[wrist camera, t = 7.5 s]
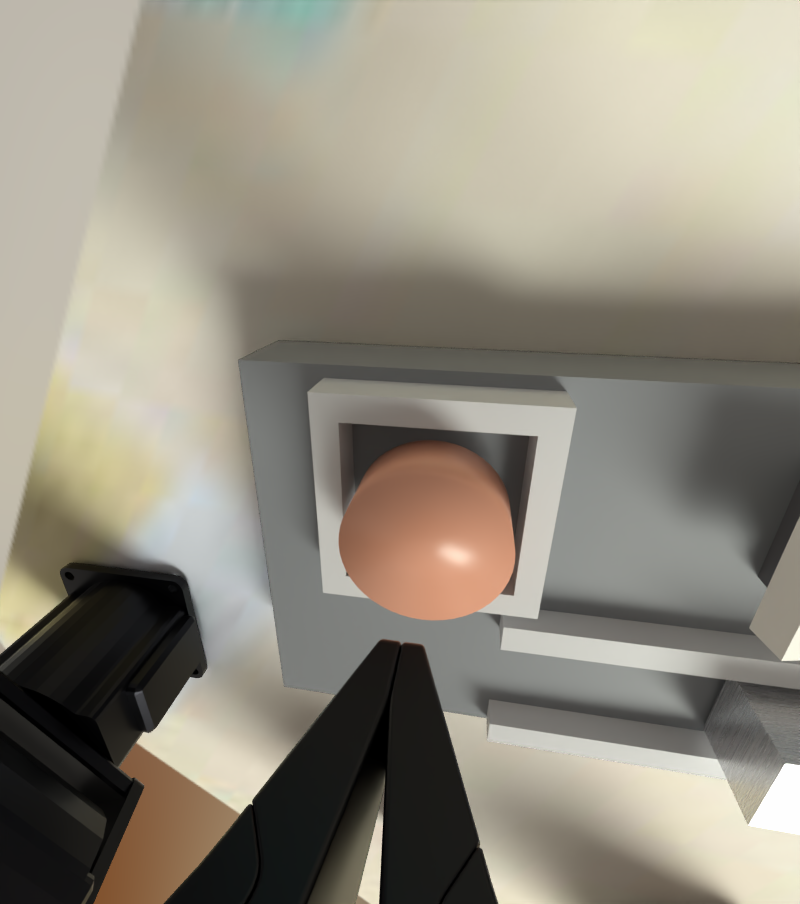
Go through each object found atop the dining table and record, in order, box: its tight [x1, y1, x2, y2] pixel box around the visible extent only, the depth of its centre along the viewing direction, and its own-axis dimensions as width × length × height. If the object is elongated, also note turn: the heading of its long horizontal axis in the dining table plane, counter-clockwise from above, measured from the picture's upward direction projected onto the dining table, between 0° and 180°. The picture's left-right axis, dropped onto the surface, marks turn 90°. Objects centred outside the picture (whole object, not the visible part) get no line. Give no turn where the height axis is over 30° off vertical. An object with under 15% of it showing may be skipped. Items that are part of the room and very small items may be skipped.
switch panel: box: [238, 341, 800, 780], centre depth 15 cm, size 24×14×5 cm, turn 90°
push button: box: [338, 440, 515, 620], centre depth 12 cm, size 4×4×2 cm
